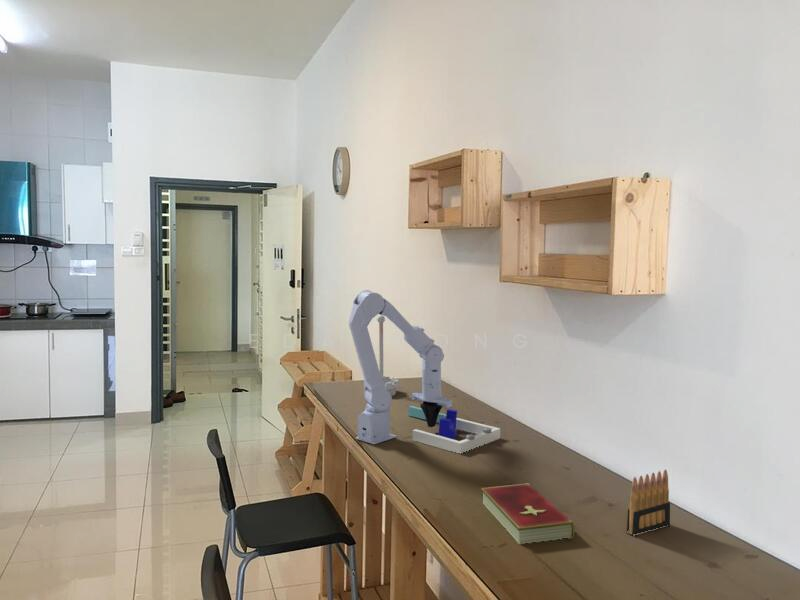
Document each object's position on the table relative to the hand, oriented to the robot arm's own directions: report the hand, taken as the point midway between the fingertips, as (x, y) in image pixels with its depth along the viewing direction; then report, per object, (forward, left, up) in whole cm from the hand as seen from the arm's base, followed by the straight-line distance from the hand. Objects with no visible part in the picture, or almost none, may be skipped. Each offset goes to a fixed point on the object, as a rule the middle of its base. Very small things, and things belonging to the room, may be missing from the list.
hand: (431, 426), depth 201 cm
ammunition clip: (-19, -76, -2) cm, 78 cm away
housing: (0, -9, -2) cm, 9 cm away
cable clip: (+2, -6, -2) cm, 6 cm away
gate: (+9, +9, -2) cm, 13 cm away
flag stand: (+24, +46, -2) cm, 52 cm away
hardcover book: (-33, -55, -3) cm, 64 cm away
